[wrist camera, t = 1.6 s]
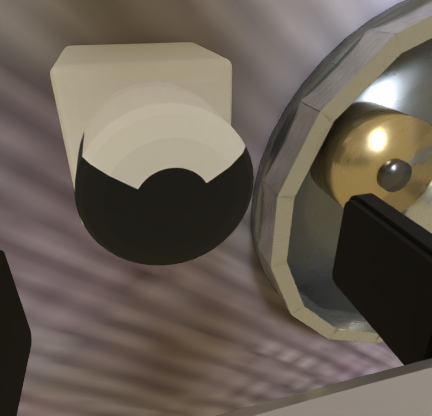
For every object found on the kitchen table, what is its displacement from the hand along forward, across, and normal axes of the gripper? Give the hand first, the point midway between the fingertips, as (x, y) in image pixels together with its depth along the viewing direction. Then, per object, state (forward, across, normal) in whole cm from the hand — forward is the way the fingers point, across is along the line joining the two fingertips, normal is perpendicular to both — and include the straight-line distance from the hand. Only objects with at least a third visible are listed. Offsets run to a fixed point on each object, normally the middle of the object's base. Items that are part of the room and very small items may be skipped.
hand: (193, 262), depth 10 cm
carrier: (+15, -22, +7) cm, 27 cm away
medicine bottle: (+14, 0, -1) cm, 15 cm away
